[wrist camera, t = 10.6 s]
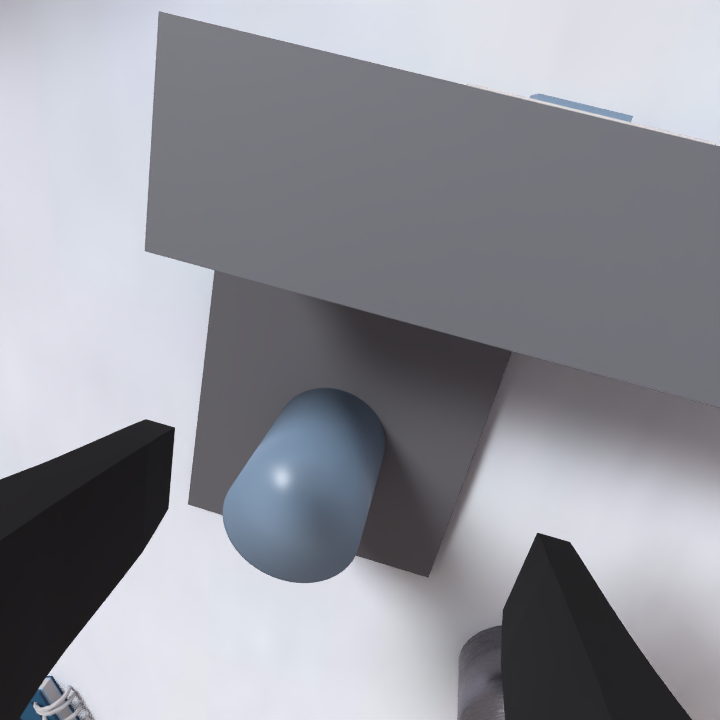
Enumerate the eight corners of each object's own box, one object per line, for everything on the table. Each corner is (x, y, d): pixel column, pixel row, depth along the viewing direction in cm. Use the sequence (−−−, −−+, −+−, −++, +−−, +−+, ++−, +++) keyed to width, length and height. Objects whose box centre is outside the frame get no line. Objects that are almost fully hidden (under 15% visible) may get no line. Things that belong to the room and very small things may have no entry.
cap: (599, 646, 23) (623, 745, 20) (554, 722, 25) (568, 823, 22) (479, 609, 24) (480, 699, 20) (445, 686, 26) (440, 781, 22)
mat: (510, 343, 19) (511, 350, 18) (429, 566, 23) (428, 577, 22) (221, 265, 19) (214, 269, 19) (194, 495, 24) (188, 504, 23)
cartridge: (408, 432, 20) (388, 523, 15) (345, 504, 22) (311, 604, 17) (313, 366, 20) (266, 438, 15) (258, 443, 21) (199, 530, 17)
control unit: (865, 180, 15) (1117, 225, 9) (769, 346, 17) (926, 468, 11) (273, 37, 16) (159, -5, 10) (249, 209, 19) (144, 255, 13)
